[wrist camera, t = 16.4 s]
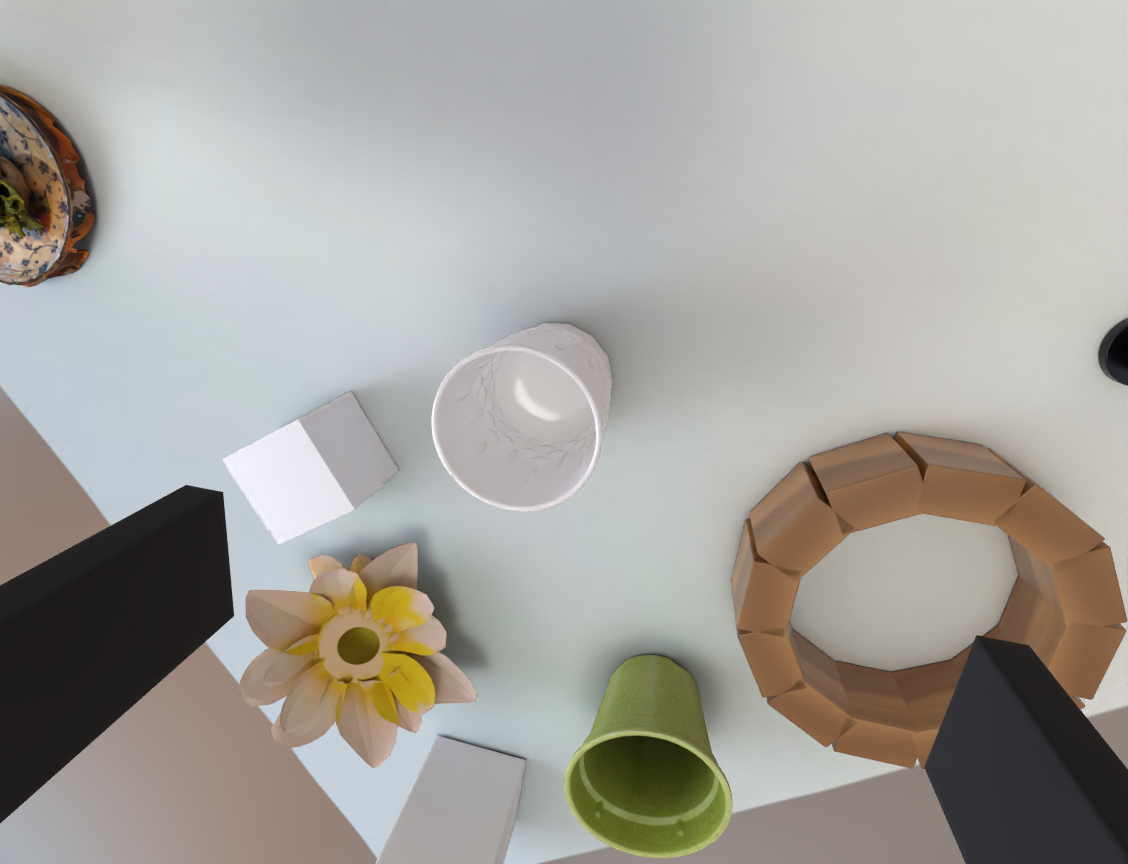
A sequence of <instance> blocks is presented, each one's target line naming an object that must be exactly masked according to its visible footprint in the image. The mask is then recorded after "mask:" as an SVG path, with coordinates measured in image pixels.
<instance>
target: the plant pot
mask: <svg viewBox="0 0 1128 864" xmlns="http://www.w3.org/2000/svg"><path fill="white" fill-rule="evenodd" d="M564 789H565V794H566V799H567V802H568V805H569V807H570V809H571V811H572V812H573V814H574V816H575V817H576V819H577V820H578V822H579V823H580V824H581V825H582V826H583V827H584V828H585V829H586V830H587V831H588V832H590V833H591V834H592V835H593V836H594V837H596V838H597V839H599V840H600V841H602V842H603V843H605V844H607V845H609V846H611V847H613V848H615V849H617V850H621V851H623V852H626V853H630V854H633V855H637V856H642V857H653V858H675V857H680V856H685V855H688V854H691V853H694V852H697V851H699V850H701V849H703V848H705V847H707V846H708V845H709V844H711V843H713V842H714V841H716V840H717V839H718V838H719V837H720V835H721V834H722V833H723V832H724V830H725V829H726V827H727V825H728V823H729V821H730V818H731V814H732V795H731V790H730V786H729V784H728V781H727V779H726V777H725V775H724V773H723V772H722V770H721V769H720V767H719V766H718V763H717V761H716V759H715V757H714V755H713V754H712V751H711V747H710V742H709V738H708V734H707V729H706V725H705V720H704V716H703V711H702V706H701V701H700V697H699V693H698V688H697V685H696V682H695V680H694V678H693V677H692V675H691V674H690V673H689V672H688V671H686V670H684V669H683V668H681V667H680V666H678V665H677V664H676V663H674V662H673V661H672V660H671V659H669V658H666V657H662V656H657V655H641V656H636V657H632V658H630V659H627V660H626V661H624V662H623V663H622V664H621V665H620V666H619V667H618V668H617V669H616V670H615V671H614V673H613V674H612V675H611V678H610V680H609V683H608V686H607V689H606V691H605V694H604V697H603V700H602V702H601V705H600V708H599V711H598V713H597V716H596V719H595V722H594V724H593V727H592V730H591V733H590V735H589V736H588V737H587V738H586V740H585V741H584V743H583V745H582V746H581V747H580V748H579V749H578V750H577V751H576V752H575V753H574V755H573V756H572V758H571V760H570V762H569V764H568V767H567V770H566V773H565V779H564Z"/></svg>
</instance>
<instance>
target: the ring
mask: <svg viewBox="0 0 1128 864" xmlns="http://www.w3.org/2000/svg"><path fill="white" fill-rule="evenodd" d="M809 461H810V464H811V467H812V469H813V470H811V469H810V468H809V467H807V466H806V465H805V464H804V463H802V462H800V463H799V464H798V465H797V466H796V467H795V468H794V469H793V470H792V471H791V472H790V473H789V474H788V475H787V476H786V477H785V478H784V479H783V480H782V481H781V482H780V483H779V484H778V485H777V486H776V487H775V488H774V489H773V490H772V491H771V492H770V493H769V494H768V495H767V496H766V497H765V498H764V499H763V500H762V501H761V502H760V503H759V504H758V505H757V506H756V507H755V508H754V509H753V510H752V511H751V512H750V513H749V515H750V520H751V521H750V520H745V523H744V527H743V532H742V536H741V540H740V545H739V549H738V553H737V558H736V562H735V566H734V571H733V575H732V579H731V583H732V594H733V602H734V610H735V619H736V627H737V635H738V639H739V641H740V643H741V646H742V648H743V651H744V653H745V656H746V658H747V661H748V663H749V665H750V668H751V670H752V673H753V675H754V678H755V680H756V683H757V685H758V687H759V690H760V692H761V695H762V697H763V698H764V697H767V702H768V704H769V705H770V706H771V707H773V708H774V709H775V710H777V711H778V712H779V713H781V714H782V715H783V716H785V717H786V718H787V719H789V720H790V721H791V722H793V723H794V724H795V725H797V726H798V727H799V728H801V729H802V730H803V731H805V732H806V733H807V734H809V735H810V736H811V737H813V738H814V739H815V740H817V741H818V742H819V743H821V744H822V745H823V746H825V747H827V746H829V745H830V744H832V746H833V750H834V751H835V752H840V753H844V754H849V755H853V756H858V757H862V758H867V759H871V760H876V761H880V762H885V763H889V764H894V765H899V766H903V767H908V768H913V767H914V765H915V762H916V760H917V758H918V761H919V763H920V765H921V768H922V769H925V768H924V766H925V764H926V761H927V759H928V756H929V754H930V751H931V749H932V746H933V744H934V741H935V739H936V736H937V734H938V731H939V729H940V726H941V724H942V721H943V719H944V716H945V714H946V711H947V709H948V706H949V704H950V701H951V698H952V696H953V693H954V691H955V688H956V686H957V683H958V681H959V678H960V676H961V673H962V671H963V668H964V666H965V663H966V661H967V658H968V656H969V653H970V651H971V648H972V646H973V644H972V645H971V646H970V647H968V648H967V649H966V650H964V651H963V652H962V653H960V654H959V655H958V656H956V657H955V658H953V659H952V660H949V661H944V662H939V663H934V664H930V665H925V666H920V667H915V668H910V669H906V670H901V671H896V672H887V671H882V670H877V669H872V668H867V667H862V666H857V665H853V664H848V663H843V662H838V661H834V660H832V659H831V658H830V657H828V656H827V655H826V654H825V653H823V652H822V651H821V650H819V649H818V648H817V647H815V646H814V645H813V644H811V643H810V642H809V641H807V640H806V639H805V638H804V637H802V636H801V635H800V634H798V633H797V632H796V631H794V630H793V629H792V627H791V624H790V622H789V619H790V615H791V612H792V608H793V604H794V601H795V597H796V593H797V590H798V586H799V582H800V579H801V577H802V576H803V575H804V574H805V573H806V572H808V571H809V570H810V569H811V568H812V567H813V566H814V565H815V564H816V563H818V562H819V561H820V560H821V559H822V558H823V557H824V556H825V555H826V554H828V553H829V552H830V551H831V550H832V549H833V548H834V547H835V546H837V545H838V544H839V543H840V542H841V541H842V540H843V539H844V538H845V537H847V536H848V535H849V534H850V533H852V532H856V531H859V530H863V529H867V528H870V527H874V526H878V525H881V524H885V523H889V522H892V521H896V520H900V519H903V518H907V517H911V516H914V515H918V514H922V513H923V514H929V515H935V516H941V517H947V518H952V519H958V520H964V521H970V522H976V523H982V524H988V525H994V526H998V527H999V528H1000V529H1002V530H1003V531H1004V532H1006V533H1007V534H1008V536H1009V540H1010V544H1011V547H1012V551H1013V555H1014V558H1015V562H1016V565H1017V569H1018V573H1019V576H1018V579H1017V581H1016V583H1015V586H1014V588H1013V591H1012V593H1011V596H1010V598H1009V600H1008V603H1007V605H1006V608H1005V610H1004V613H1003V615H1002V617H1001V620H1000V622H999V625H998V626H997V627H995V628H994V629H993V630H991V631H990V632H989V633H987V634H986V635H985V636H983V637H988V638H993V639H999V640H1004V641H1009V642H1014V643H1020V644H1025V645H1029V646H1030V647H1031V648H1032V650H1033V651H1034V652H1035V653H1036V655H1037V656H1038V657H1039V658H1040V660H1041V661H1042V662H1043V663H1044V665H1045V666H1046V667H1047V669H1048V670H1049V671H1050V672H1051V674H1052V675H1053V676H1054V677H1055V679H1056V680H1057V681H1058V682H1059V684H1060V685H1061V686H1062V687H1063V689H1064V690H1065V691H1066V692H1067V694H1068V695H1069V696H1070V697H1071V699H1072V700H1073V701H1074V703H1075V704H1076V705H1077V706H1078V708H1079V709H1080V710H1081V709H1082V708H1084V707H1085V704H1084V703H1083V702H1082V701H1081V699H1080V698H1079V697H1081V698H1086V699H1091V700H1092V699H1093V697H1094V695H1095V693H1096V691H1097V689H1098V687H1099V685H1100V683H1101V681H1102V679H1103V677H1104V675H1105V673H1106V671H1107V669H1108V667H1109V665H1110V663H1111V661H1112V659H1113V657H1114V655H1115V653H1116V651H1117V649H1118V647H1119V645H1120V643H1121V641H1122V639H1123V637H1124V635H1125V633H1126V629H1125V628H1124V627H1123V626H1122V625H1121V624H1119V623H1124V622H1127V617H1126V613H1125V609H1124V604H1123V600H1122V596H1121V592H1120V587H1119V583H1118V579H1117V575H1116V570H1115V566H1114V562H1113V557H1112V553H1111V549H1110V547H1109V546H1108V545H1107V544H1105V543H1104V542H1103V541H1104V540H1105V539H1104V537H1102V536H1101V535H1100V534H1099V533H1097V532H1096V531H1095V530H1094V529H1092V528H1091V527H1090V526H1089V525H1087V524H1086V523H1085V522H1084V521H1082V520H1081V519H1080V518H1079V517H1077V516H1076V515H1075V514H1074V513H1072V512H1071V511H1070V510H1069V509H1067V508H1066V507H1065V506H1064V505H1062V504H1061V503H1060V502H1059V501H1057V500H1056V499H1055V498H1054V497H1052V496H1051V495H1050V494H1049V493H1047V492H1046V491H1045V490H1044V489H1042V488H1041V487H1040V486H1039V485H1037V484H1036V483H1035V482H1033V481H1032V480H1031V479H1030V478H1028V477H1027V476H1026V475H1024V474H1023V473H1022V472H1020V471H1019V470H1018V469H1017V468H1015V467H1014V466H1013V465H1011V464H1010V463H1009V462H1007V461H1006V460H1005V459H1004V458H1002V457H1001V456H1000V455H998V454H997V453H996V452H995V451H993V450H992V449H988V450H987V449H986V448H985V447H983V446H982V445H981V444H974V443H968V442H961V441H955V440H948V439H942V438H935V437H929V436H922V435H916V434H909V433H903V432H897V434H896V438H895V440H894V439H893V438H892V437H891V436H890V435H889V434H888V433H885V434H882V435H879V436H876V437H872V438H869V439H866V440H863V441H860V442H856V443H853V444H850V445H847V446H844V447H840V448H837V449H834V450H831V451H828V452H824V453H821V454H818V455H815V456H812V457H809Z"/></svg>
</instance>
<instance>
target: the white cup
mask: <svg viewBox="0 0 1128 864" xmlns="http://www.w3.org/2000/svg"><path fill="white" fill-rule="evenodd" d="M612 385H613V378H612V373H611V369H610V364H609V359H608V356H607V355H606V353H605V352H604V351H603V349H602V348H601V347H600V345H599V344H598V343H597V342H596V340H595V339H594V338H593V336H592V335H590V334H588V333H586V332H584V331H582V330H580V329H578V328H576V327H574V326H572V325H570V324H561V323H542V324H540V325H537V326H535V327H533V328H529V329H525V330H522V331H519V332H517V333H514V334H512V335H510V336H507V337H505V338H502V339H500V340H498V341H497V342H495V343H493V344H491V345H489V346H487V347H485V348H483V349H481V350H479V351H477V352H475V353H473V354H471V355H469V356H467V357H466V358H464V359H463V360H461V361H460V362H459V363H458V364H457V365H455V366H454V367H453V368H452V369H451V371H450V372H449V373H448V374H447V375H446V377H445V378H444V380H443V381H442V383H441V385H440V387H439V389H438V391H437V394H436V397H435V400H434V404H433V409H432V433H433V439H434V443H435V446H436V449H437V452H438V454H439V457H440V459H441V461H442V463H443V464H444V466H445V468H446V469H447V471H448V472H449V473H450V475H451V476H452V477H453V478H454V479H455V481H456V482H457V483H458V484H459V485H460V486H461V487H462V488H464V489H465V490H466V491H467V492H469V493H470V494H471V495H473V496H474V497H476V498H478V499H479V500H481V501H483V502H485V503H487V504H490V505H492V506H495V507H498V508H502V509H506V510H512V511H536V510H542V509H546V508H549V507H552V506H555V505H557V504H559V503H561V502H563V501H565V500H567V499H568V498H570V497H571V496H573V495H574V494H575V493H576V492H577V491H578V490H580V489H581V487H582V486H583V485H584V484H585V483H586V482H587V480H588V479H589V477H590V476H591V474H592V473H593V471H594V469H595V467H596V464H597V462H598V459H599V455H600V451H601V446H602V442H603V438H604V433H605V429H606V424H607V420H608V416H609V409H610V404H611V389H612Z"/></svg>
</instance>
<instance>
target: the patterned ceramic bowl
mask: <svg viewBox="0 0 1128 864" xmlns="http://www.w3.org/2000/svg"><path fill="white" fill-rule="evenodd" d="M53 122H55V120H54V119H53V118H52V117H51V116H50V115H49V114H48V113H47V112H46V111H45V110H44V109H43V108H42V107H41V106H39V105H38V104H37V103H35V102H34V101H32V100H31V99H30V98H28V97H27V96H26V95H24V94H22V93H19V92H17V91H15V90H13V89H11V88H9V87H6V86H2V85H0V282H2V283H5V284H8V285H12V284H15V285H23V286H25V287H31V286H36V285H38V284H39V283H41V282H43V281H45V280H47V279H49V278H52V277H56V276H61V275H66V274H70V273H74V272H76V271H78V270H79V268H80V267H79V265H80V264H82V263H83V261H84V260H85V259H86V258H87V256H88V254H89V252H88V251H86V250H80V249H78V250H75V249H72V247H73V245H74V243H75V242H76V241H78V240H80V239H81V238H83V237H84V236H85V235H86V234H87V233H88V232H89V230H90V229H91V227H92V223H93V222H94V214H93V213H92V212H90V209H91V205H92V204H93V201H92V200H91V199H90V198H89V197H88V196H87V195H86V194H85V189H84V184H85V181H84V180H83V179H81V178H80V177H79V175H78V169H77V167H76V165H75V164H76V163H77V162H78V160H79V155H78V154H77V153H76V152H75V150H74V149H73V147H72V144H71V141H70V140H69V139H68V138H67V137H66V136H65V135H64V134H63V133H62V132H60V131H59V130H58V129H56V128H55V127H54V126H53Z"/></svg>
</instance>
